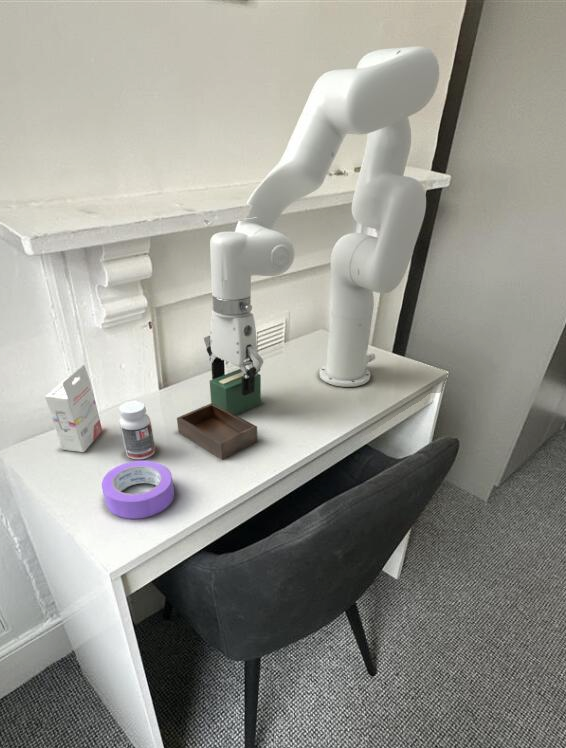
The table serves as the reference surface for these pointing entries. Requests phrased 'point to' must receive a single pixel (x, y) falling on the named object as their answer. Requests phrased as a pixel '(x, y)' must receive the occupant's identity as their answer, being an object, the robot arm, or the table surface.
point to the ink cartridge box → (74, 412)
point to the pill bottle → (136, 430)
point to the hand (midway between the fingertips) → (233, 386)
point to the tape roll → (142, 502)
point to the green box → (234, 392)
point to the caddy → (217, 430)
